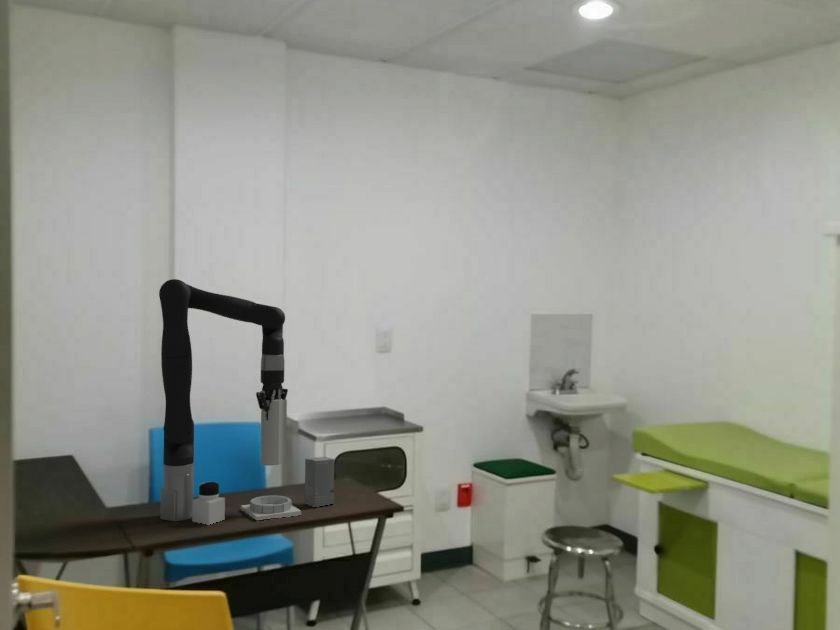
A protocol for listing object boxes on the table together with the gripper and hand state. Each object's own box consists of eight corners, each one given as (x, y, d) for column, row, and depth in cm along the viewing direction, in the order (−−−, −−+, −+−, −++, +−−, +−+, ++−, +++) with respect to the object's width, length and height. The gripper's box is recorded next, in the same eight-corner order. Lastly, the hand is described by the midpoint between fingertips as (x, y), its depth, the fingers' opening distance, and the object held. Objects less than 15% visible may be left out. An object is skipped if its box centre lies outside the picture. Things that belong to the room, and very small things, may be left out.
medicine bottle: (225, 520, 260) (225, 482, 260) (208, 525, 254) (209, 486, 254) (208, 516, 264) (209, 479, 264) (191, 522, 258) (192, 483, 257)
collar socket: (256, 521, 260) (256, 508, 260) (240, 510, 273) (241, 497, 272) (301, 515, 267) (301, 503, 267) (283, 504, 280) (284, 492, 280)
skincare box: (314, 508, 276) (314, 461, 276) (302, 504, 282) (303, 457, 281) (335, 504, 281) (336, 458, 281) (323, 500, 287) (324, 454, 286)
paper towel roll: (256, 464, 269) (257, 399, 268) (268, 461, 274) (269, 397, 273) (274, 467, 265) (275, 400, 265) (285, 464, 271) (286, 398, 270)
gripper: (277, 366, 277) (276, 417, 277) (249, 369, 264) (248, 423, 265) (295, 367, 273) (294, 419, 273) (267, 370, 261) (266, 425, 261)
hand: (271, 421), depth 269 cm, fingers closed on paper towel roll, 3 cm apart
